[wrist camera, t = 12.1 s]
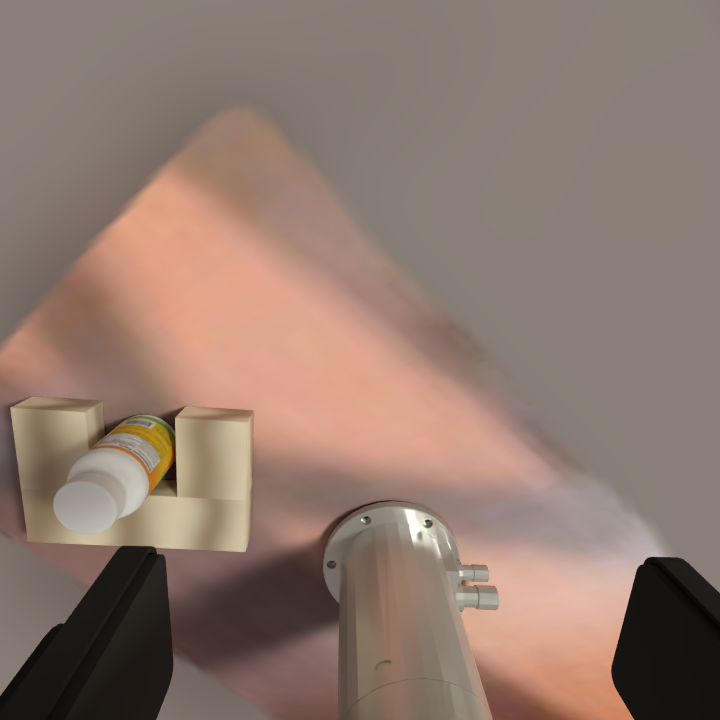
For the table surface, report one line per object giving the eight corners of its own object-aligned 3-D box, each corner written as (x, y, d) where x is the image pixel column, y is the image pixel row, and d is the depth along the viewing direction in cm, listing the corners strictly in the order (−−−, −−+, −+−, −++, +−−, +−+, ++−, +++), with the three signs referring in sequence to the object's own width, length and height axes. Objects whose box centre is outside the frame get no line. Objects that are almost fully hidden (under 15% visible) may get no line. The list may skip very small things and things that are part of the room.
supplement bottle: (146, 481, 39) (82, 559, 30) (102, 435, 38) (22, 501, 28) (193, 448, 38) (144, 517, 29) (151, 400, 37) (85, 456, 28)
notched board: (253, 410, 38) (247, 422, 35) (251, 533, 41) (245, 551, 38) (32, 396, 37) (10, 407, 34) (47, 523, 40) (27, 541, 37)
